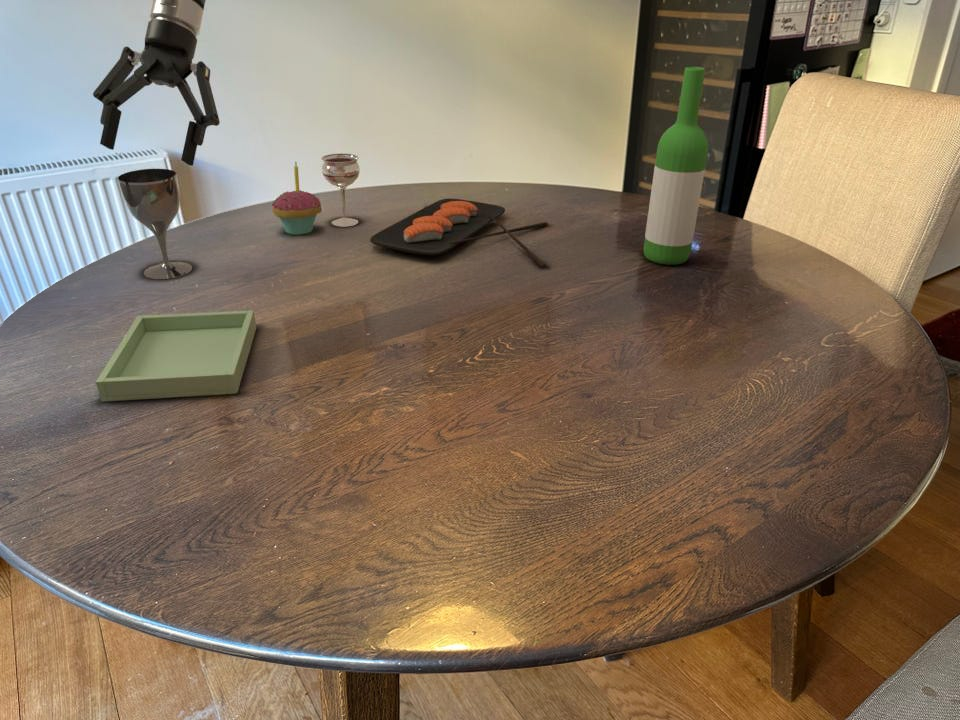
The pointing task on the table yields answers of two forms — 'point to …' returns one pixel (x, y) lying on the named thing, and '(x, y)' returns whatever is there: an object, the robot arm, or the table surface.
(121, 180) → the wine glass
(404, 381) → the table surface
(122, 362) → the tray
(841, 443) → the table surface
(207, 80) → the robot arm
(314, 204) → the cupcake
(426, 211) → the sushi plate
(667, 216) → the wine bottle
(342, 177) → the wineglass
